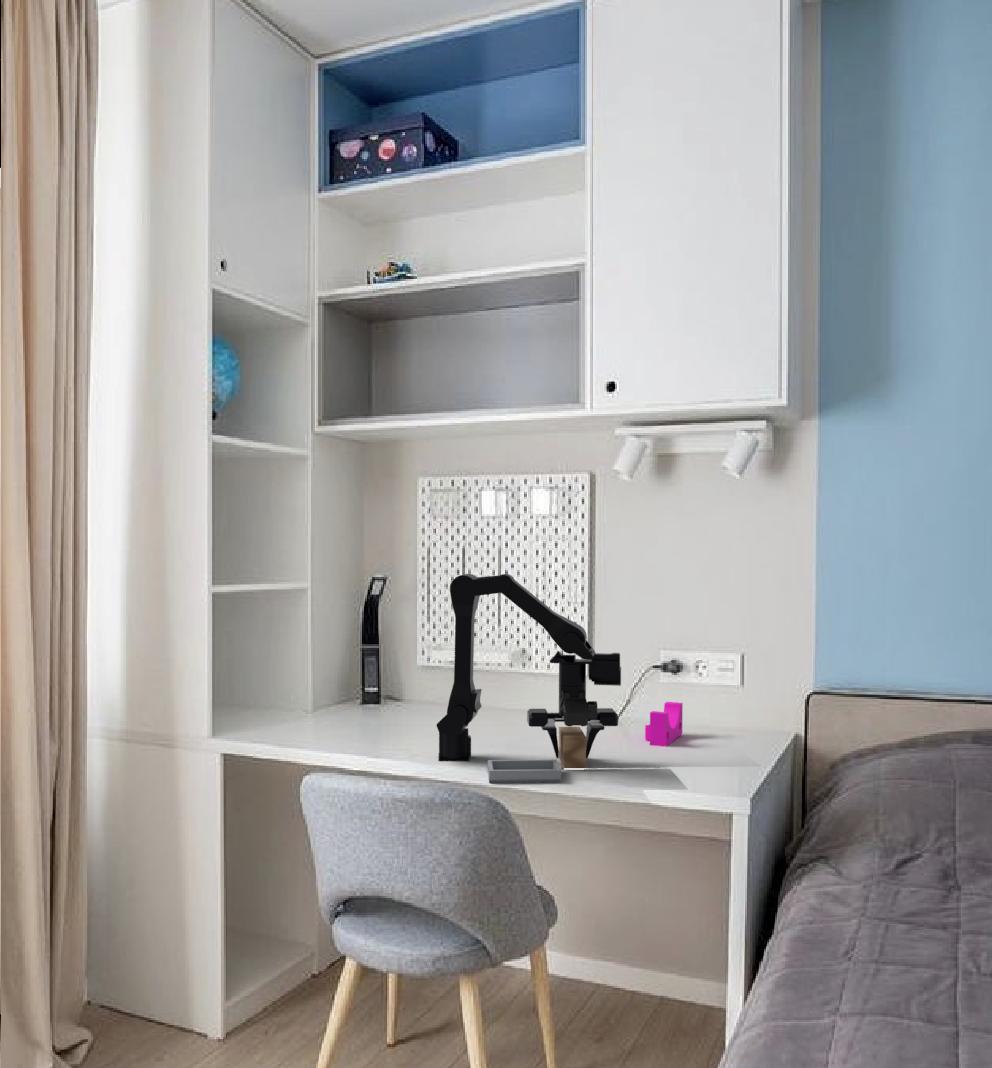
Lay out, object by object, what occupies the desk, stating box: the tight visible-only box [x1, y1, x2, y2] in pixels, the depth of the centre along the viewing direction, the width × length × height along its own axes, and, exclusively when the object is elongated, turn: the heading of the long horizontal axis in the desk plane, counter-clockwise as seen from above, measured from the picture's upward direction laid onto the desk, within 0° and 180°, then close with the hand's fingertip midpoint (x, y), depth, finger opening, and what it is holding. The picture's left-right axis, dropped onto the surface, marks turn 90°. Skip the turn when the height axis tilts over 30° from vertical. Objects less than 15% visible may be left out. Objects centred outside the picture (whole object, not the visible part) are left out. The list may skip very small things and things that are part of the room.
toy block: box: [644, 701, 684, 747], centre depth 233 cm, size 15×6×8 cm, turn 155°
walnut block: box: [558, 726, 587, 769], centre depth 207 cm, size 4×10×7 cm, turn 3°
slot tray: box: [487, 759, 562, 784], centre depth 197 cm, size 14×9×2 cm, turn 93°
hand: (571, 757), depth 207 cm, fingers open, 6 cm apart
